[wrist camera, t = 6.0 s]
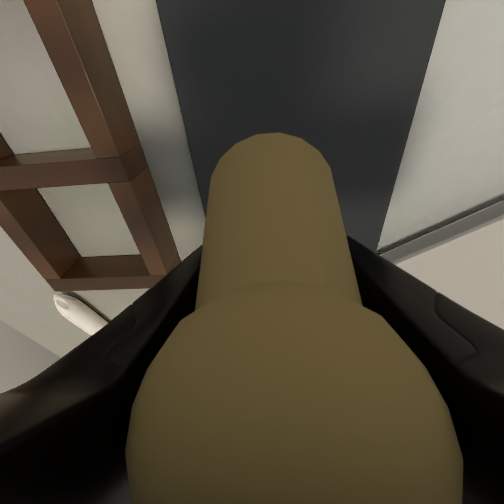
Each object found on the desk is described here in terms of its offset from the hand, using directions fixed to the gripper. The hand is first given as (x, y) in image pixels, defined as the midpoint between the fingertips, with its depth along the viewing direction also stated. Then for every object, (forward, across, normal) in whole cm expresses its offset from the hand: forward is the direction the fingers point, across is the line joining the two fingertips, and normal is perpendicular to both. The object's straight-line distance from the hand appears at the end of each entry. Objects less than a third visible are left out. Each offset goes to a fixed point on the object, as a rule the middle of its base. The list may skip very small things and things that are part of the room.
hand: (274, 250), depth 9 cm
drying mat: (+11, -2, 0) cm, 11 cm away
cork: (+4, 0, 0) cm, 4 cm away
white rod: (+11, +20, +20) cm, 30 cm away
